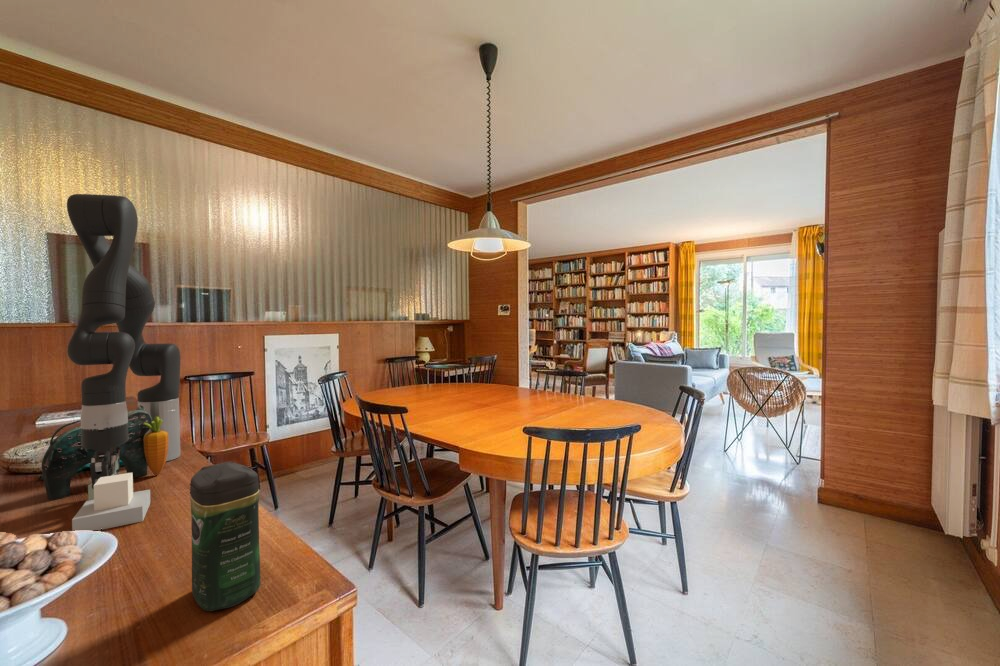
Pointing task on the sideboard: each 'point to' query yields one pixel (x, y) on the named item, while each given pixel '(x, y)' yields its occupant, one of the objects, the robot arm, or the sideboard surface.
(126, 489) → the cream block
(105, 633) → the sideboard surface
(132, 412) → the dark green arched piece
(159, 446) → the carrot
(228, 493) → the coffee jar
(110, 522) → the base slab
